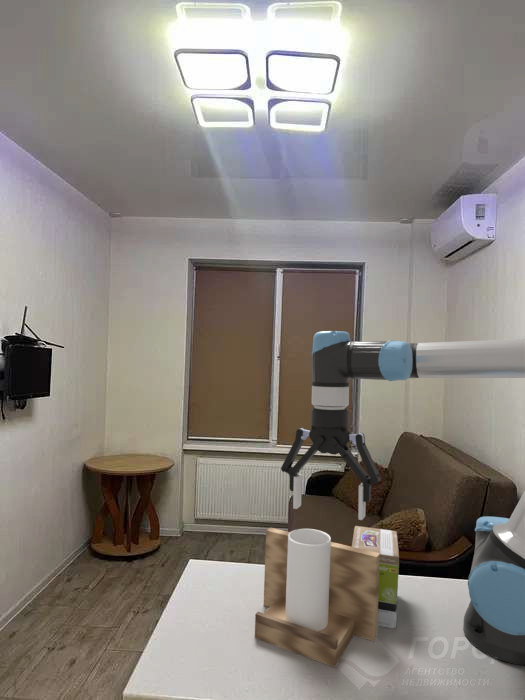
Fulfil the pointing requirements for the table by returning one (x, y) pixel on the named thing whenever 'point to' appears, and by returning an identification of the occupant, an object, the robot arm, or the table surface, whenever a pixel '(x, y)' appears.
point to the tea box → (382, 568)
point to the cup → (308, 578)
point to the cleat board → (344, 601)
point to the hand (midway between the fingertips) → (328, 512)
